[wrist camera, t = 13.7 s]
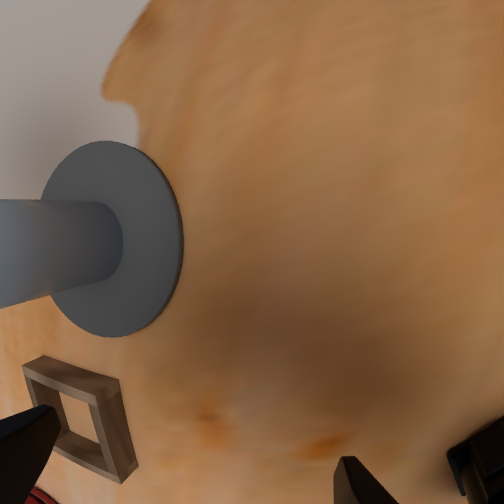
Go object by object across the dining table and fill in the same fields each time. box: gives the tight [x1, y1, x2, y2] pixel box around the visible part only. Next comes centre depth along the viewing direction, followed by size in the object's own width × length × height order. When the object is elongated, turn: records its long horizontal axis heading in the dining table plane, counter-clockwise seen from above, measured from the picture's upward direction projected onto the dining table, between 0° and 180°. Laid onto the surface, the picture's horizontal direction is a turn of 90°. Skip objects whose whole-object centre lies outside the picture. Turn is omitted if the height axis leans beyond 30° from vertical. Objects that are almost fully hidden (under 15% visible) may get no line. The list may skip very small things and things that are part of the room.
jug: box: [0, 199, 123, 309], centre depth 14 cm, size 8×6×14 cm
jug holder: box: [22, 356, 138, 484], centre depth 23 cm, size 10×10×3 cm
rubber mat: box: [41, 141, 183, 338], centre depth 21 cm, size 14×14×1 cm
